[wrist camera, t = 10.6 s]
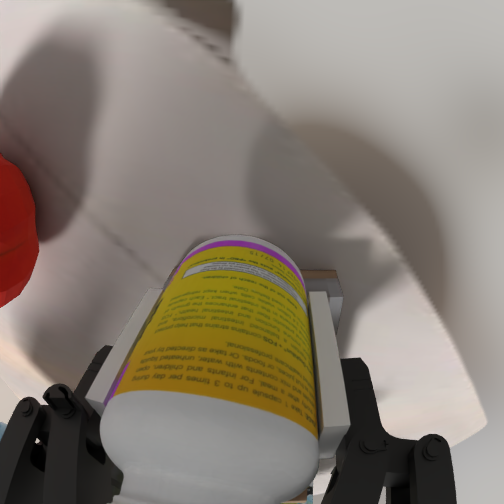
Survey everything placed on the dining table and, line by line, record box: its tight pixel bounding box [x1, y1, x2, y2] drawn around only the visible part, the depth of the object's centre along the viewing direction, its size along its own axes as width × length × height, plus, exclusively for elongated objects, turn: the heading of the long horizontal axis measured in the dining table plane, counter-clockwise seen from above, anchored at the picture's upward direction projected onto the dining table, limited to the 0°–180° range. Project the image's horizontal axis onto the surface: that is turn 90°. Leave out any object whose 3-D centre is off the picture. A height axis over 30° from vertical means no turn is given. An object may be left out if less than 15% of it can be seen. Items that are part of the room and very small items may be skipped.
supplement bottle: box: [100, 235, 319, 504], centre depth 9 cm, size 7×7×13 cm
